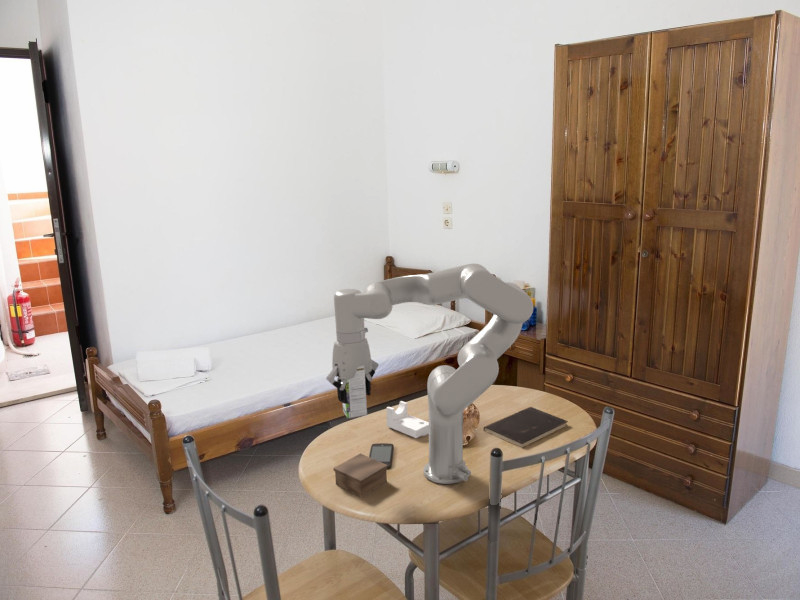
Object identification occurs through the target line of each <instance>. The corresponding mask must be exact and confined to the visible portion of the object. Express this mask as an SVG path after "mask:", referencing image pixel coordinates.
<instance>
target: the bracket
mask: <svg viewBox="0 0 800 600" xmlns="http://www.w3.org/2000/svg"><path fill="white" fill-rule="evenodd" d="M386 427H388V428H390V429H393V430H395V431H398V432H400V433H403V434H405V435H408V436H410V437H412V438H415V439H417V438H419V437H425V436H427V435H429V421H426V420H424V419H421V418H418V417H416V416H413V415H411V414H408V402H405V401H403V400H400V401H399V403H398V407H397V409H396V410H395V408H393V407H391V406H387V407H386Z"/></svg>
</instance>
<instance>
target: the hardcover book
mask: <svg viewBox="0 0 800 600" xmlns="http://www.w3.org/2000/svg"><path fill="white" fill-rule="evenodd" d="M567 423H568V420H566V419H563V418H560V417H559V416H555V415H553V414H551V413H548V412H545V411H542V410H540V409H537V408H536V407H532V406H529V407H527V408H526V407H525V408H524V409H522V410H520V411H517V412H514V413H513V414H511V415H508V416H506V417H504V418H500V419H499V420H496V421H494V422H491V423H489V424H487V425H485V426H483V432H487V433H489V434H491V435H494V436H496V437H497V438H500V439H502V440H504V441H506V442H508V443H511V444H513V445H515V446H517V447H519V448H521V449H522V448H524V447H526V446H528V445H530V444H532V443H534V442H536V441H538V440H540V439H542V438H544V437H546V436H548V435H550V434H553V433H555V432H557V431H559V430H561V429H562V427H563V428H565V427H566V426H567ZM556 430H557V431H556ZM554 431H555V432H554Z"/></svg>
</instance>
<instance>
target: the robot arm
mask: <svg viewBox="0 0 800 600" xmlns="http://www.w3.org/2000/svg"><path fill="white" fill-rule="evenodd" d="M460 299H468V300H469V301H471V302H472V303H474V304H475V305H476V306H478V307H480V308H482V309H484V310H485V311H488V312H489V313H491V314H492V317H491V318H490V319H489V322H488V323H486V325H485V326H484V327H483V328H482V329H481V330H480V331H479V332H478V333H477V334H475V336H473V337H472V338H471V339H470V340H469V341H468V342H467V343H466V344H464V345H463V346H462V347H461V348H460V350H459V351H458V354H457V363H458V365H459V366H458V368H457V369H456V368H455V367H453V366H451V365H446V364H445V365H438V366H437V367H435V368H434V369H432V370H431V372H430V373H429V376H428V378H427V384H426V385H427V386H426V387H427V400H428V401H427V402H428V406H427V407H428V422H429V434H428V462H427V463H425V464H424V466H423V475H424V476H425V477H426V479H428V480H430V481H431V482H433V483H437V484H441V485H442V484H444V485H452V484H456V483H460V482H462V481H464V482H467V481H468V480H469V478H470V476H471V475H472V470H471V469H468V466H467V465H466V461H465V460H463V459H464V458H463V457H464V456H463V455H464V454H463V451H464V449H463V448H464V447H463V446H464V445H463V444H464V443H463V442H464V439H463V436H464V432H463V431H464V410H466V409H468V407H469V406H470V405H472V404H473V403H474V401H475V402H476V400H477V399H478V398H479V397H481V396H482V395H483V394H484V393H485V392H486V391H487V390H488V389H489V388H491V386H492V385H493V384H494V383H495V381H496V379H497V377H498V375H499V372H500V371H499V369H500V367H499V362H498V359H499V358H500V357H501V356H502V355H503V354H504V353H505V352H506V351H507V350H508V349H509V348H510V347H511V346H512V345H513V344H514V343H515V341H516V340H517V339H518V337H519V335H520V333H521V331H522V327H523V324H524V323H525V322H526V321H528V320H529V319H530V318H531V317H532V314H533V312H534V302H533V300H532V298H531V296H530V295H528V293H527V292H525V290H523V289H522V287H520V286H519V285H518V284H516V283H513V282H510V281H509V282H507V281H505V282H504V281H503V280H501V279H500V278H498V277H496V276H495V275H494V274H493V273H491V272H490V271H489V270H488V269H487V268H486V267H485V266H484V265H482V264H479V263H467V264H463V265H460V266H455V267H451V268H446V269H443V270H438V271H433V272H429V273H423V274H414V275H413V274H412V275H404V276H398V277H393V278H388V279H385V280H381V281H380V280H379V281H376V282H373V283H371V284H370V285H368V286H367V287H366V288H365V289H364V292H362V291H360V290H359V289H356V288H347V289H346V288H345V289H340V290H338V291H335V293H334V296H333V303H334V304H333V305H334V307H333V308H334V317H335V329H336V330H335V334H336V341H334V342H333V348H332V359H331V360H332V361H331V363H332V370H331V371H330V372H329V373H328V374H327V376H326V379H325V380H326V381H328V382H329V383H330V384H331V385H332V386H334V387H335V388H336V390H337V399H338V401H339V402H340V403H342V404H343V403H344V404H345V403H347V393H346V389H344V387H345V385H346V382H347V380H348V379H351V378H354V376H355V374H356V371H357V369H358V366H362V365H364V369H365V386H366V396H371V395H372V394H371V393H372V392H371V391H372V390H371V389H372V388H371V387H372V385H371V382H372V381H373V377H374V375H375V374H376V371H377V369H378V367H379V365H380V364H379V363H378V362H376V361H375V360H373V359H372V357H371V350H370V346H369V342H368V339H367V338H368V337H366V334H367V333H369V329H368V327H365V319H371V320H381V319H385V318H387V317H388V316H389V315H390V314H391V313H392V310H393V308H394V307H393V306H396V305H400V304H406V303H419V304H423V305H426V306H436V305H441V304H445V303H450V302H453V301H459V300H460ZM335 378H336V379H335ZM341 381H342V382H341Z"/></svg>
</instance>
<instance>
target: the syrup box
mask: <svg viewBox="0 0 800 600" xmlns="http://www.w3.org/2000/svg"><path fill="white" fill-rule="evenodd" d="M341 382H342V381H341ZM344 389H346V393H347V403H345V404H344V403H342V412H343V413H344V415H345V417H346V419H353V418H357V417H363V416H367V415H368V407H367V404H368V403H367V395H366V386H365V369H364V365H362V366H358V369H357V371H356V374H355V376H354V378H351V379H348V380H347V382H346V385H345V387H344Z"/></svg>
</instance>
